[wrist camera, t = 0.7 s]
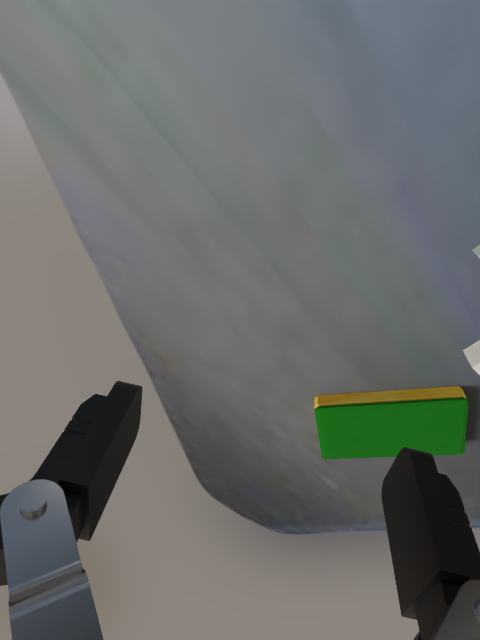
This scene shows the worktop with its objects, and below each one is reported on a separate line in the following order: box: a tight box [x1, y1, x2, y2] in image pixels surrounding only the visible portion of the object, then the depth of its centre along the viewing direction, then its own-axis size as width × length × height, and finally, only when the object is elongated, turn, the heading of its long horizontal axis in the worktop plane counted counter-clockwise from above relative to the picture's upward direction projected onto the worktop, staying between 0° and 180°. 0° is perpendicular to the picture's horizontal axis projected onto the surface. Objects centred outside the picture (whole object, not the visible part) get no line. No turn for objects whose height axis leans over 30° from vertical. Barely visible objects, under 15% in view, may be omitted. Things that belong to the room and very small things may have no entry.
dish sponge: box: [314, 386, 469, 459], centre depth 43 cm, size 7×14×2 cm, turn 101°
